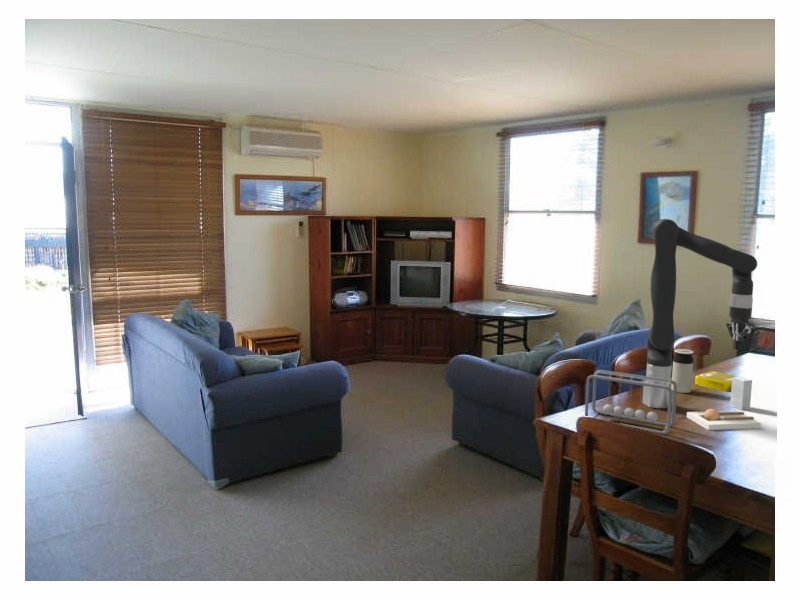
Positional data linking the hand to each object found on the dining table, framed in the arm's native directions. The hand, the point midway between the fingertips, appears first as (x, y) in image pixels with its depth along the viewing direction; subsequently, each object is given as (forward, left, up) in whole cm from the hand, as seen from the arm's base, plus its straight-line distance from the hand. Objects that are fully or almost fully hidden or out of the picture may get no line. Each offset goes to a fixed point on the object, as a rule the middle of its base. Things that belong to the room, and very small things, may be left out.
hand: (737, 349), depth 238 cm
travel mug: (-5, +28, -25) cm, 38 cm away
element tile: (+17, +35, -26) cm, 47 cm away
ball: (-16, -11, -22) cm, 30 cm away
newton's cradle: (-48, -10, -25) cm, 55 cm away
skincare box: (+6, +4, -25) cm, 26 cm away
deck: (-12, -12, -25) cm, 30 cm away
